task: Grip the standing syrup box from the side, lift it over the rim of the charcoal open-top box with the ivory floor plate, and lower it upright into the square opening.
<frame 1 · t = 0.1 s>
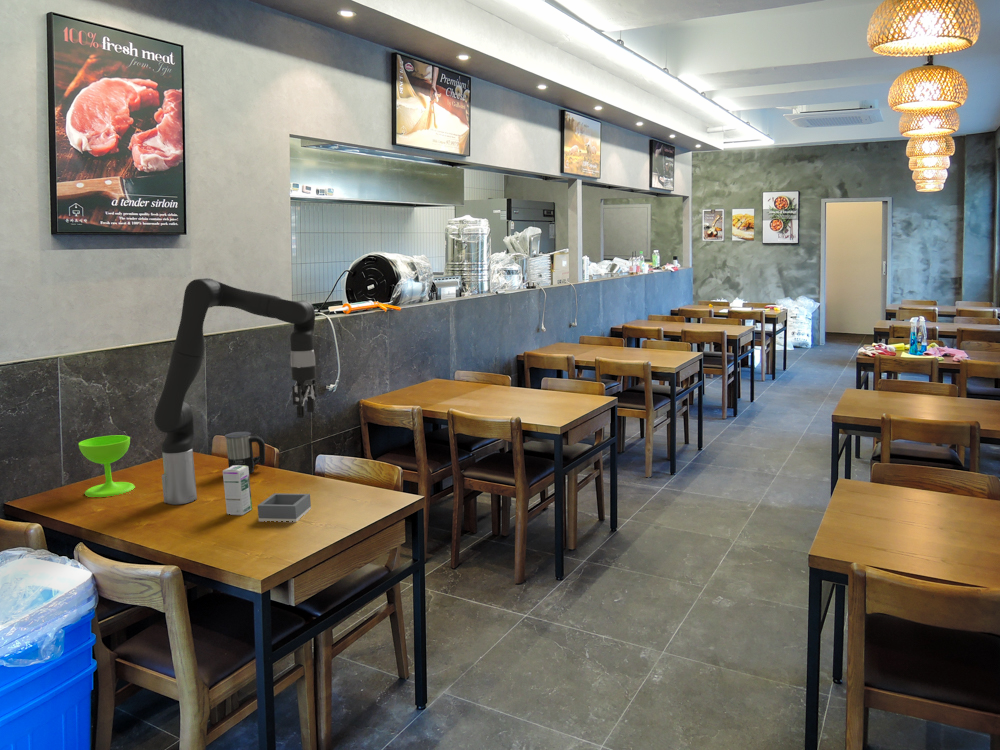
hand: (306, 414, 242), 29 cm above the table, tool pointing down, fingers open, 8 cm apart
syrup box: (239, 512, 239), on the table
socket box: (285, 515, 235), on the table
milk frother: (246, 470, 288), on the table
wineglass: (110, 491, 265), on the table
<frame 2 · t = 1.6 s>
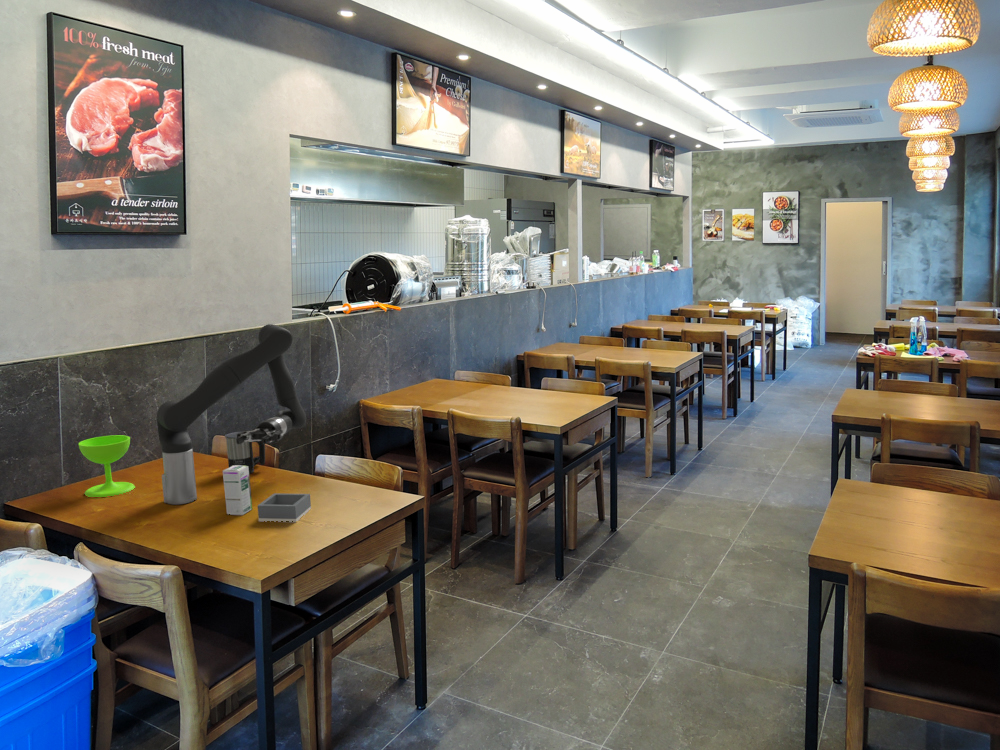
hand: (250, 441, 247), 20 cm above the table, tool horizontal, fingers open, 8 cm apart
nothing on the table moved.
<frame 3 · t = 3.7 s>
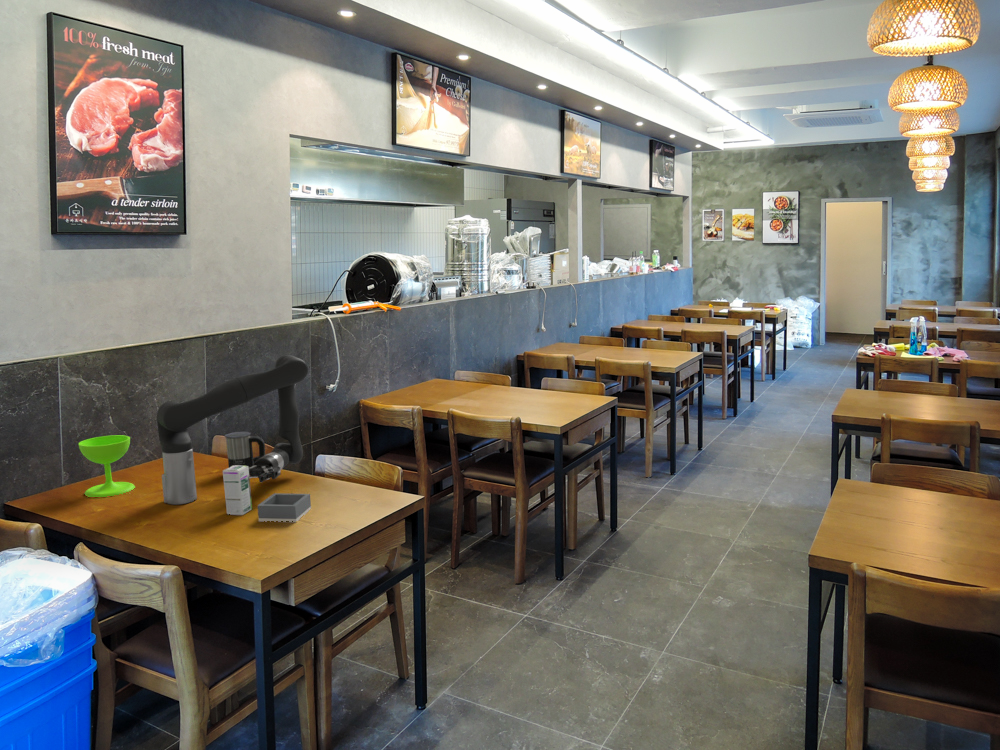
hand: (247, 479, 245), 9 cm above the table, tool horizontal, fingers open, 8 cm apart
nothing on the table moved.
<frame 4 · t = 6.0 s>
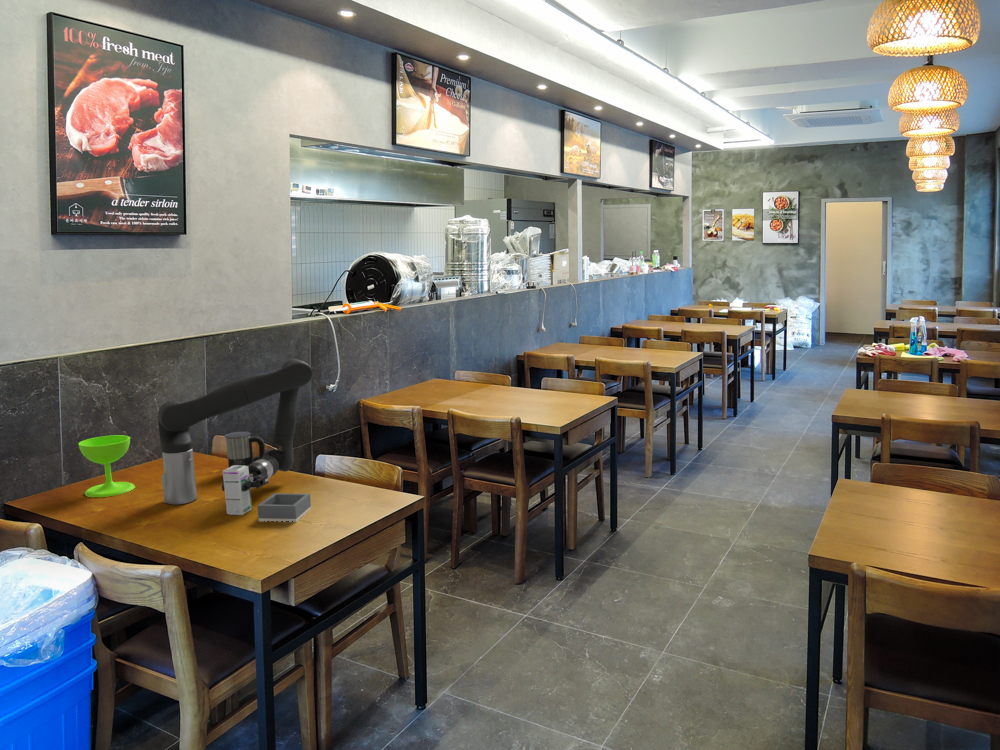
hand: (233, 488, 236), 9 cm above the table, tool horizontal, fingers closed on syrup box, 6 cm apart
syrup box: (239, 512, 239), on the table, touching gripper
everything else where it was.
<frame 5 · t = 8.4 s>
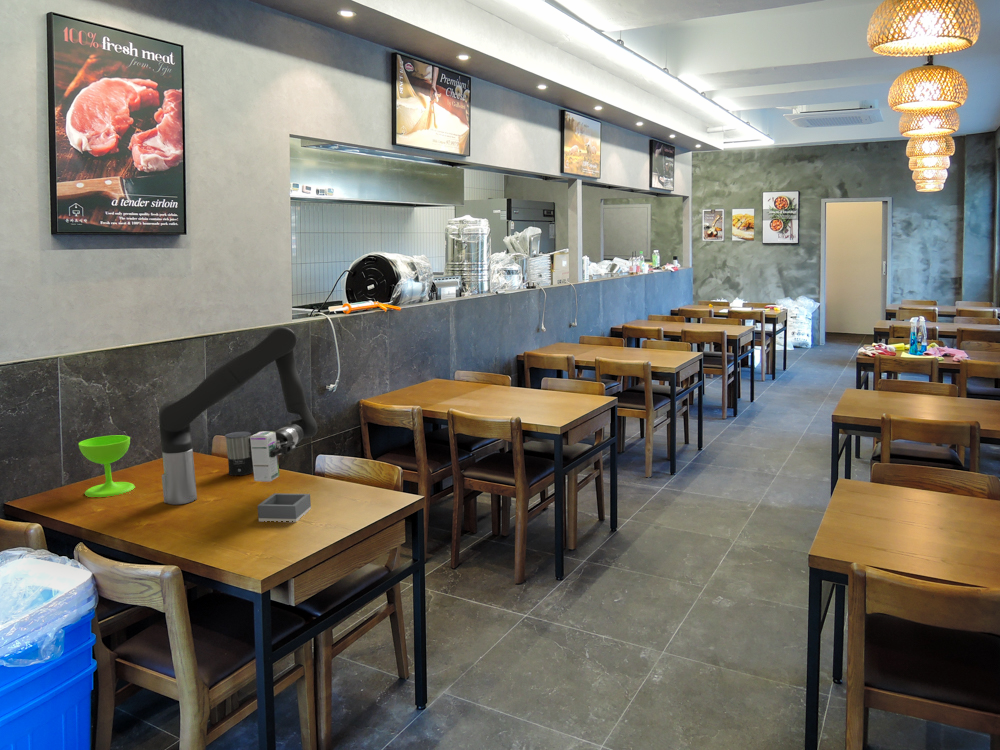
hand: (261, 454, 232), 20 cm above the table, tool horizontal, fingers closed on syrup box, 6 cm apart
syrup box: (266, 479, 236), point 11 cm above the table, touching gripper
everything else where it was.
when the fingers open (11 cm above the table, at t = 11.1 s): syrup box drops 1 cm, resting on socket box.
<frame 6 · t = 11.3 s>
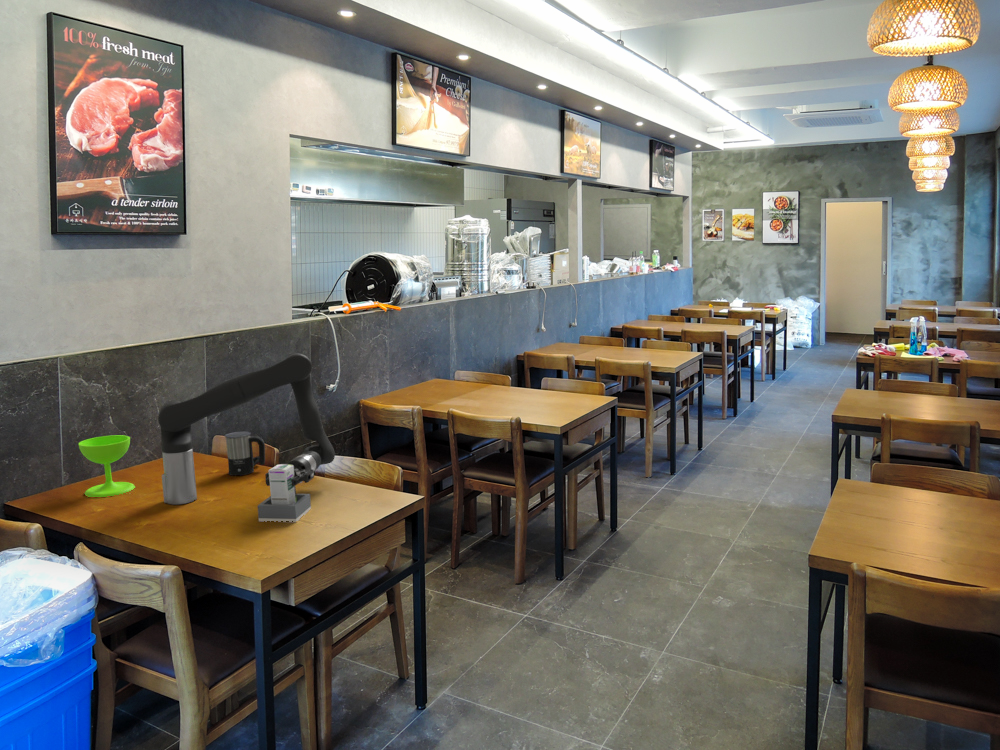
hand: (280, 482, 232), 11 cm above the table, tool horizontal, fingers open, 7 cm apart
syrup box: (284, 512, 235), point 1 cm above the table, touching socket box
everything else where it was.
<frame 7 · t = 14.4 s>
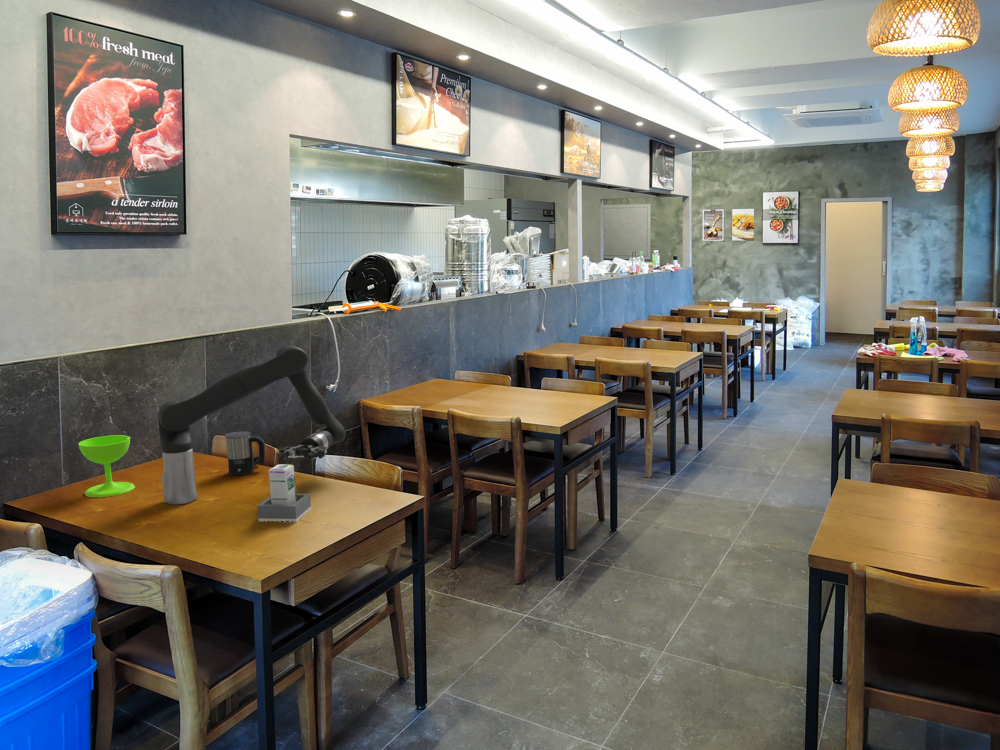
hand: (295, 457, 244), 15 cm above the table, tool horizontal, fingers open, 8 cm apart
nothing on the table moved.
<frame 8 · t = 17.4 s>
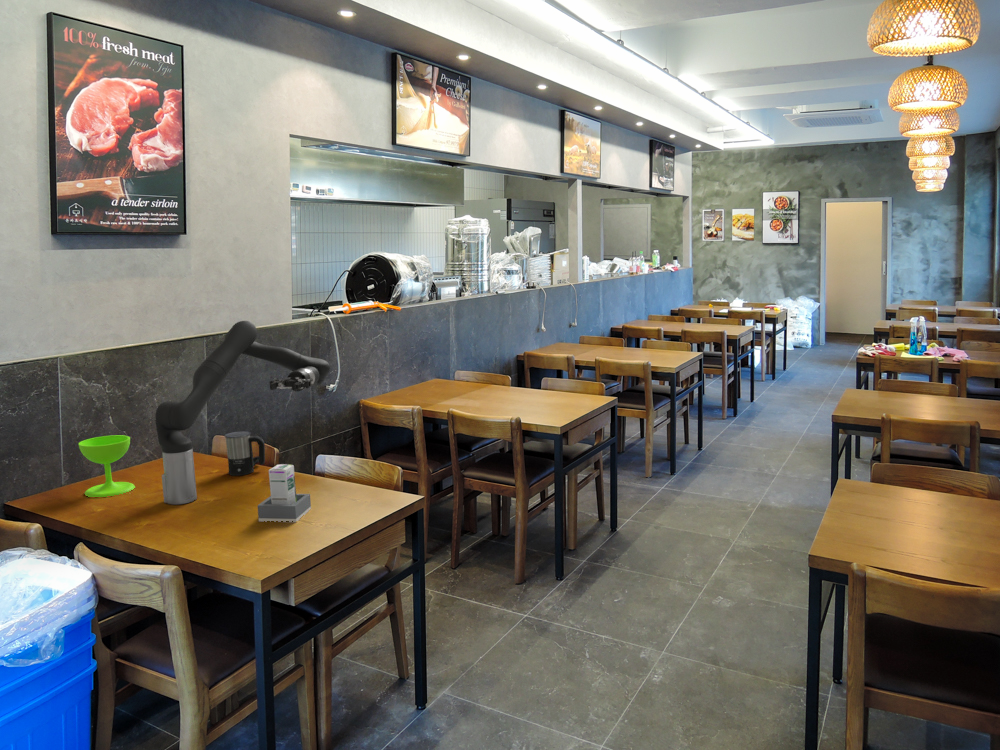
hand: (283, 387, 261), 35 cm above the table, tool horizontal, fingers open, 8 cm apart
nothing on the table moved.
at the end: syrup box 0.2 cm off-centre on the socket box, point 0.8 cm above the socket box's base; syrup box tilted 0°; the gripper is holding nothing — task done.
